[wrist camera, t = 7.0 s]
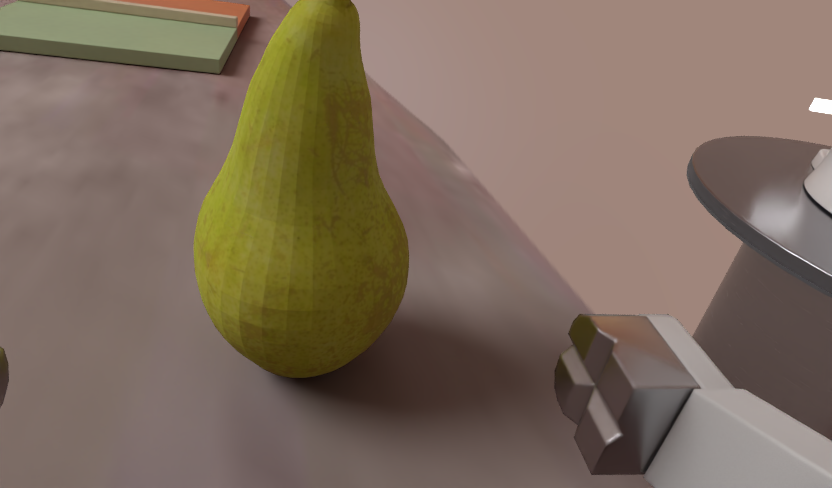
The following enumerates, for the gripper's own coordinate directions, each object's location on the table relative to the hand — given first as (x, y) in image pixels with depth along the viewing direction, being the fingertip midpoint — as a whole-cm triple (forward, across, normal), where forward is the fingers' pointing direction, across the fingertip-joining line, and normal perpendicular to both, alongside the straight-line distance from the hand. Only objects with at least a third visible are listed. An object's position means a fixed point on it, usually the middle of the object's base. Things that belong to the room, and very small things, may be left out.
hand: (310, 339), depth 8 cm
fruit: (+7, 0, +7) cm, 9 cm away
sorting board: (+44, +14, +6) cm, 46 cm away
